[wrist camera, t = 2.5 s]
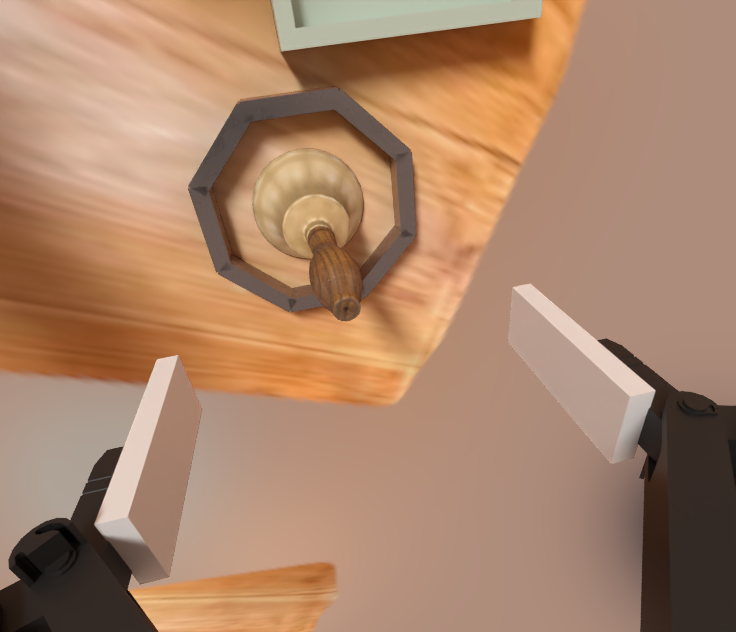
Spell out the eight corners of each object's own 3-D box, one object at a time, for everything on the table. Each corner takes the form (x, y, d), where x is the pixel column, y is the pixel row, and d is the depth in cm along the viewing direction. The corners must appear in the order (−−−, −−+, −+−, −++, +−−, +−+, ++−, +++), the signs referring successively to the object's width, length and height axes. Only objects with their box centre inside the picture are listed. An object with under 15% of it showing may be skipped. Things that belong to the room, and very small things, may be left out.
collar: (234, 312, 35) (233, 323, 34) (168, 109, 27) (162, 112, 26) (412, 277, 37) (419, 286, 36) (400, 76, 29) (407, 77, 28)
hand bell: (331, 126, 30) (386, 181, 16) (380, 225, 34) (453, 333, 21) (229, 183, 30) (201, 283, 17) (290, 274, 35) (306, 409, 21)
